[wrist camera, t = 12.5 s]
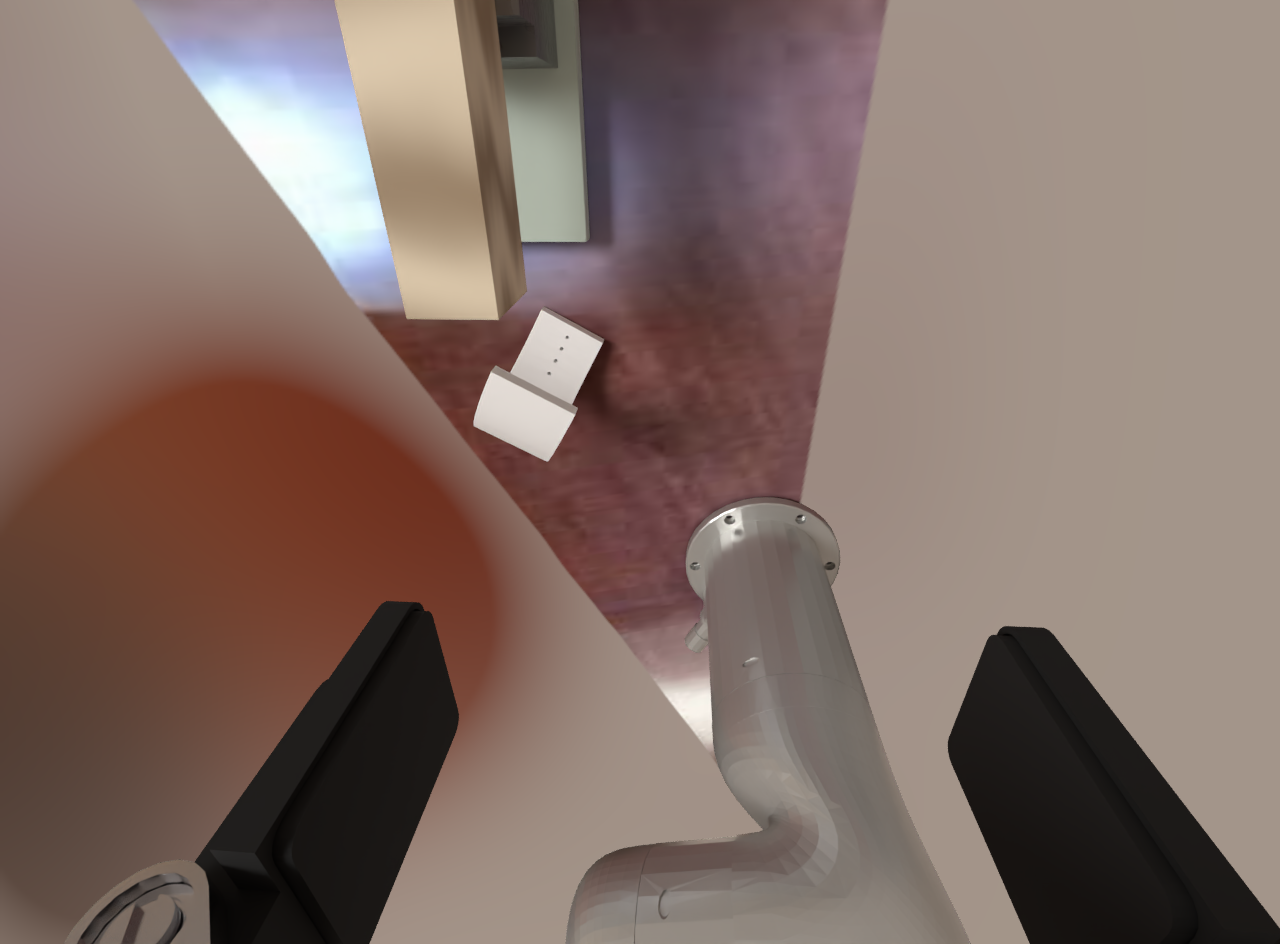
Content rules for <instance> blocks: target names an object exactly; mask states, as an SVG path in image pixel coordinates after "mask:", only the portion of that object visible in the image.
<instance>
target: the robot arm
mask: <svg viewBox="0 0 1280 944" xmlns="http://www.w3.org/2000/svg"><path fill="white" fill-rule="evenodd" d="M839 565H840V551H839V547H838V544H837V540H836V538H835V536H834V533H833V531H832V529H831V527H830V526H829V525H828V524H827V522H826V521H825V520H824V519H823V518H822V517H821V516H820V515H818V514H817V513H816V512H815V511H814V510H811V509H810V508H808V507H806V506H804V505H802V504H800V503H797V502H794V501H791V500H788V499H781V498H774V497H757V498H751V499H745V500H740V501H737V502H734V503H731V504H728V505H726V506H724V507H722V508H721V509H719V510H717V511H715V512H714V513H712V514H711V515H710V516H708V517H707V518H706V519H704V520H703V522H702V523H701V524H700V525H699V526H698V527H697V528H696V529H695V531H694V533H693V535H692V536H691V538H690V540H689V543H688V547H687V550H686V573H687V576H688V579H689V582H690V585H691V586H692V588H693V589H694V591H695V593H696V594H697V595H698V596H699V597H700V598H701V599H702V600H703V601H704V608H703V610H702V611H701V613H700V620H699V622H698V623H696V624H695V625H694V627H693V628H692V629H691V630H690V632H689V633H688V634H687V635H686V637H685V643H686V645H687V647H688V648H689V649H690V650H691V651H693V652H695V653H700V652H702V651H703V650H704V649H705V647H706V646H707V645H709V665H710V685H711V705H712V732H713V745H714V752H715V757H716V760H717V764H718V767H719V769H720V772H721V774H722V776H723V778H724V781H725V783H726V784H727V786H728V787H729V789H730V790H731V792H732V793H733V795H734V796H735V798H736V799H737V800H738V802H739V803H740V804H741V805H742V807H743V808H744V809H745V810H746V811H747V813H748V814H749V815H750V816H751V817H752V818H753V819H754V820H755V821H756V822H757V823H758V824H759V826H761V828H762V829H763V830H762V831H760V832H755V833H748V834H741V835H737V836H735V837H723V838H712V839H701V840H689V841H679V842H666V843H656V844H649V845H641V846H634V847H628V848H623V849H619V850H616V851H614V852H611V853H609V854H606V855H605V856H603V857H602V858H600V859H599V860H597V861H596V862H595V863H594V864H593V865H592V866H591V867H590V868H589V869H588V871H587V872H586V873H585V875H584V877H583V878H582V880H581V882H580V883H579V885H578V888H577V890H576V893H575V896H574V899H573V902H572V905H571V909H570V914H569V920H568V925H567V933H566V943H565V944H971V943H970V941H969V939H968V936H967V934H966V932H965V929H964V927H963V925H962V923H961V921H960V919H959V917H958V914H957V913H956V910H955V908H954V906H953V904H952V902H951V900H950V898H949V896H948V894H947V892H946V890H945V888H944V886H943V884H942V882H941V880H940V878H939V876H938V874H937V872H936V870H935V868H934V866H933V864H932V862H931V860H930V858H929V856H928V854H927V852H926V849H925V847H924V845H923V843H922V841H921V839H920V837H919V835H918V833H917V831H916V828H915V826H914V824H913V822H912V819H911V817H910V815H909V813H908V810H907V808H906V806H905V804H904V801H903V798H902V796H901V793H900V791H899V788H898V786H897V783H896V780H895V778H894V775H893V773H892V770H891V767H890V764H889V761H888V758H887V756H886V753H885V750H884V747H883V744H882V741H881V739H880V735H879V732H878V729H877V726H876V723H875V720H874V717H873V714H872V711H871V708H870V706H869V702H868V699H867V696H866V693H865V690H864V687H863V683H862V681H861V677H860V674H859V671H858V668H857V665H856V662H855V659H854V656H853V653H852V650H851V647H850V644H849V641H848V638H847V635H846V632H845V628H844V625H843V623H842V619H841V616H840V613H839V610H838V607H837V604H836V601H835V598H834V595H833V592H832V589H831V585H832V584H833V582H834V580H835V578H836V576H837V574H838V569H839ZM458 720H459V713H458V708H457V704H456V701H455V697H454V693H453V690H452V686H451V682H450V679H449V675H448V671H447V667H446V664H445V660H444V656H443V653H442V649H441V645H440V642H439V638H438V634H437V630H436V627H435V623H434V619H433V616H432V614H431V613H430V612H429V611H424V609H423V606H422V605H421V604H420V603H417V602H394V601H386V602H384V603H383V604H381V605H380V607H379V608H378V609H377V610H376V612H375V613H374V615H373V616H372V618H371V619H370V620H369V622H368V623H367V625H366V626H365V628H364V629H363V630H362V632H361V633H360V635H359V636H358V638H357V639H356V641H355V642H354V643H353V645H352V646H351V648H350V649H349V651H348V652H347V653H346V655H345V656H344V658H343V659H342V661H341V662H340V664H339V665H338V666H337V668H336V669H335V671H334V672H333V673H332V675H331V676H330V678H329V679H328V680H326V681H325V682H323V683H322V684H321V685H320V687H319V688H318V689H317V690H316V691H315V693H314V694H313V696H312V697H311V698H310V700H309V701H308V702H307V704H306V705H305V707H304V708H303V710H302V711H301V712H300V714H299V715H298V717H297V718H296V719H295V721H294V722H293V724H292V725H291V727H290V728H289V729H288V731H287V732H286V734H285V735H284V736H283V738H282V739H281V741H280V742H279V743H278V745H277V746H276V748H275V749H274V751H273V752H272V753H271V755H270V756H269V758H268V759H267V760H266V762H265V763H264V765H263V766H262V767H261V769H260V770H259V772H258V773H257V775H256V776H255V777H254V779H253V780H252V782H251V783H250V784H249V786H248V787H247V789H246V790H245V792H244V793H243V794H242V796H241V797H240V799H239V800H238V802H237V803H236V804H235V806H234V807H233V809H232V810H231V811H230V813H229V814H228V816H227V817H226V818H225V820H224V821H223V823H222V824H221V826H220V827H219V828H218V830H217V831H216V833H215V834H214V836H213V837H212V838H211V840H210V841H209V842H208V844H207V845H206V847H205V848H204V849H203V851H202V852H201V854H200V855H199V857H198V858H197V859H196V861H195V862H190V861H185V860H173V861H167V862H161V863H158V864H156V865H153V866H151V867H148V868H146V869H143V870H141V871H139V872H137V873H136V874H134V875H132V876H131V877H129V878H128V879H126V880H124V881H123V882H121V883H120V884H118V885H116V886H115V887H114V888H113V889H112V890H110V891H109V892H108V893H107V894H106V895H104V896H103V897H102V898H101V899H100V900H99V901H98V902H96V903H95V904H94V905H93V906H92V907H91V908H90V909H89V911H88V912H87V913H86V914H85V915H84V916H83V917H82V919H81V920H80V921H79V922H78V923H77V924H76V925H75V927H74V928H73V929H72V931H71V933H70V934H69V936H68V938H67V939H66V941H65V942H64V944H369V943H370V941H371V938H372V936H373V933H374V931H375V929H376V926H377V924H378V921H379V919H380V916H381V914H382V911H383V909H384V907H385V904H386V902H387V899H388V897H389V894H390V892H391V889H392V887H393V885H394V882H395V880H396V877H397V875H398V872H399V870H400V868H401V865H402V863H403V860H404V858H405V855H406V853H407V851H408V848H409V846H410V843H411V841H412V838H413V836H414V833H415V831H416V828H417V826H418V824H419V821H420V819H421V816H422V814H423V811H424V809H425V807H426V804H427V802H428V799H429V797H430V794H431V792H432V789H433V787H434V784H435V782H436V780H437V777H438V775H439V773H440V770H441V768H442V765H443V762H444V760H445V758H446V755H447V753H448V751H449V748H450V746H451V743H452V741H453V738H454V736H455V733H456V730H457V726H458ZM948 753H949V757H950V761H951V763H952V766H953V768H954V770H955V773H956V775H957V777H958V780H959V782H960V784H961V787H962V789H963V791H964V793H965V796H966V798H967V800H968V802H969V805H970V807H971V810H972V812H973V814H974V816H975V819H976V821H977V823H978V825H979V828H980V830H981V832H982V835H983V837H984V839H985V842H986V844H987V846H988V848H989V851H990V853H991V855H992V857H993V860H994V862H995V864H996V867H997V869H998V872H999V874H1000V876H1001V878H1002V880H1003V883H1004V885H1005V888H1006V890H1007V892H1008V895H1009V897H1010V899H1011V901H1012V903H1013V906H1014V908H1015V911H1016V913H1017V915H1018V917H1019V919H1020V922H1021V924H1022V927H1023V929H1024V931H1025V933H1026V936H1027V938H1028V940H1029V943H1030V944H1280V928H1279V927H1278V926H1277V924H1276V923H1275V922H1274V920H1273V919H1272V918H1271V916H1270V915H1269V914H1268V913H1267V911H1266V910H1265V909H1264V907H1263V906H1262V905H1261V903H1260V902H1259V901H1258V900H1257V898H1256V897H1255V896H1254V894H1253V893H1252V892H1251V891H1250V890H1249V888H1248V887H1247V885H1246V884H1245V883H1244V881H1243V880H1242V879H1241V878H1240V876H1239V875H1238V874H1237V872H1236V871H1235V870H1234V868H1233V867H1232V866H1231V865H1230V863H1229V862H1228V861H1227V860H1226V858H1225V857H1224V855H1223V854H1222V853H1221V852H1220V850H1219V849H1218V848H1217V846H1216V845H1215V844H1214V842H1213V841H1212V840H1211V839H1210V837H1209V836H1208V835H1207V833H1206V832H1205V831H1204V829H1203V828H1202V827H1201V826H1200V824H1199V823H1198V822H1197V821H1196V819H1195V818H1194V816H1193V815H1192V814H1191V813H1190V811H1189V810H1188V809H1187V807H1186V806H1185V805H1184V804H1183V802H1182V801H1181V800H1180V799H1179V797H1178V796H1177V794H1176V793H1175V792H1174V791H1173V789H1172V788H1171V787H1170V785H1169V784H1168V783H1167V781H1166V780H1165V779H1164V778H1163V776H1162V775H1161V774H1160V772H1159V771H1158V770H1157V768H1156V767H1155V766H1154V765H1153V763H1152V762H1151V761H1150V759H1149V758H1148V757H1147V755H1146V754H1145V753H1144V752H1143V751H1142V749H1141V748H1140V746H1139V745H1138V744H1137V742H1136V741H1135V740H1134V739H1133V738H1132V736H1131V735H1130V733H1129V732H1128V731H1127V730H1126V728H1125V727H1124V726H1123V724H1122V723H1121V722H1120V720H1119V719H1118V718H1117V717H1116V715H1115V714H1114V713H1113V711H1112V710H1111V709H1110V707H1109V706H1108V705H1107V704H1106V702H1105V701H1104V700H1103V698H1102V697H1101V696H1100V694H1099V693H1098V692H1097V691H1096V689H1095V688H1094V687H1093V685H1092V684H1091V683H1090V681H1089V680H1088V679H1087V678H1086V677H1085V675H1084V674H1083V672H1082V671H1081V670H1080V668H1079V667H1078V666H1077V665H1076V663H1075V662H1074V661H1073V659H1072V658H1071V657H1070V655H1069V654H1068V653H1067V652H1066V650H1065V649H1064V648H1063V646H1062V645H1061V644H1060V643H1059V641H1058V640H1057V639H1056V637H1055V636H1054V635H1053V634H1052V633H1051V632H1050V631H1049V630H1047V629H1045V628H1036V627H1034V628H1033V627H1011V626H1005V627H1002V628H1001V629H1000V630H999V632H998V634H997V635H991V636H990V637H989V638H988V640H987V642H986V645H985V647H984V650H983V652H982V655H981V657H980V660H979V662H978V665H977V668H976V670H975V673H974V675H973V678H972V680H971V683H970V686H969V688H968V690H967V693H966V696H965V698H964V701H963V703H962V706H961V708H960V711H959V713H958V716H957V718H956V721H955V724H954V726H953V729H952V731H951V734H950V736H949V740H948Z"/></svg>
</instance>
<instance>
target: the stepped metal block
mask: <svg viewBox="0 0 1280 944" xmlns="http://www.w3.org/2000/svg"><path fill="white" fill-rule="evenodd" d="M495 8H496V17H497V26H498V35H499V44H500V53H501V62H502V69H545V68H558V58H557V43H556V28H555V14H554V0H495Z"/></svg>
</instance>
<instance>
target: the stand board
mask: <svg viewBox="0 0 1280 944" xmlns="http://www.w3.org/2000/svg"><path fill="white" fill-rule="evenodd" d="M554 14H555V28H556V43H557V58H558V68H545V69H502V71H503V80H504V89H505V98H506V107H507V116H508V125H509V134H510V143H511V152H512V161H513V170H514V179H515V188H516V197H517V206H518V215H519V224H520V233H521V242H587V241H588V240H589V239H590V228H589V208H588V188H587V168H586V148H585V128H584V109H583V89H582V69H581V49H580V29H579V9H578V0H554Z"/></svg>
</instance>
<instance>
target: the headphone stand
mask: <svg viewBox="0 0 1280 944" xmlns="http://www.w3.org/2000/svg"><path fill="white" fill-rule="evenodd" d="M603 342H604V339H603V338H601V337H599V336H597V335H595V334H594V333H592V332H590V331H588V330H586V329H585V328H583V327H581V326H579V325H577V324H575V323H574V322H572V321H570V320H568V319H566V318H564V317H563V316H561V315H559V314H557V313H555V312H553V311H552V310H550V309H548V308H546V307H543V308H542V309H541V311H540V314H539V316H538V318H537V320H536V322H535V324H534V327H533V329H532V331H531V333H530V335H529V337H528V339H527V341H526V343H525V345H524V347H523V349H522V351H521V353H520V355H519V357H518V359H517V361H516V363H515V365H514V366H513V368H512V370H511V372H510V373H509V372H507V371H505V370H503V369H501V368H499V367H497V366H495V367H494V369H493V370H492V371H491V373H490V375H489V378H488V380H487V382H486V385H485V388H484V390H483V393H482V395H481V398H480V401H479V404H478V407H477V410H476V414H475V418H474V426H475V427H477V428H479V429H481V430H483V431H485V432H487V433H489V434H491V435H493V436H495V437H497V438H499V439H501V440H503V441H506V442H508V443H510V444H512V445H514V446H516V447H518V448H520V449H522V450H524V451H526V452H528V453H530V454H532V455H534V456H536V457H538V458H540V459H543V460H545V461H547V462H548V461H549V459H550V458H551V456H552V455H553V453H554V452H555V450H556V448H557V447H558V445H559V443H560V442H561V440H562V438H563V436H564V434H565V433H566V431H567V429H568V427H569V425H570V424H571V422H572V420H573V418H574V416H575V414H576V412H577V409H578V408H577V407H575V406H573V405H572V404H573V402H574V399H575V397H576V395H577V393H578V391H579V389H580V387H581V385H582V383H583V381H584V379H585V377H586V375H587V373H588V371H589V369H590V367H591V365H592V363H593V361H594V359H595V357H596V356H597V354H598V352H599V350H600V348H601V346H602V344H603Z"/></svg>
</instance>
